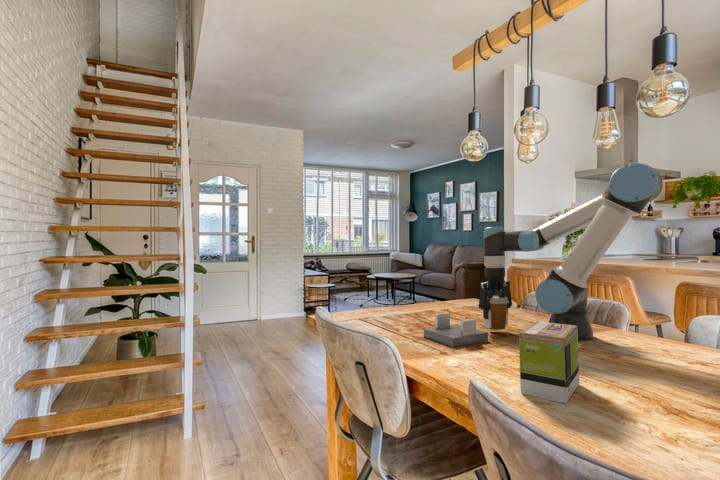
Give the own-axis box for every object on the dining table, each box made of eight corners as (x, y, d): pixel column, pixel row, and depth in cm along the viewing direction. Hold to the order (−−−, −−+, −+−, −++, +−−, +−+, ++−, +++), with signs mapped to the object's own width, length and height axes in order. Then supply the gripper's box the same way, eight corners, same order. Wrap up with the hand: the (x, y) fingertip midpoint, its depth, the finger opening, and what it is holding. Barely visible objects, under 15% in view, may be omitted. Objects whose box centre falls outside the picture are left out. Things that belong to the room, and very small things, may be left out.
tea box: (537, 376, 102) (536, 319, 102) (580, 384, 95) (579, 324, 95) (518, 394, 90) (518, 330, 90) (566, 405, 84) (566, 337, 84)
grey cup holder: (488, 341, 136) (487, 318, 136) (453, 347, 129) (452, 323, 129) (456, 331, 151) (456, 311, 151) (423, 336, 143) (423, 315, 143)
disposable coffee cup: (505, 325, 153) (504, 295, 153) (512, 330, 144) (511, 298, 144) (481, 325, 154) (480, 295, 154) (486, 330, 144) (485, 298, 145)
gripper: (506, 265, 157) (507, 321, 157) (467, 267, 148) (468, 327, 147) (521, 266, 151) (523, 324, 150) (481, 268, 141) (483, 331, 141)
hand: (496, 326), depth 149 cm, fingers closed on disposable coffee cup, 8 cm apart
